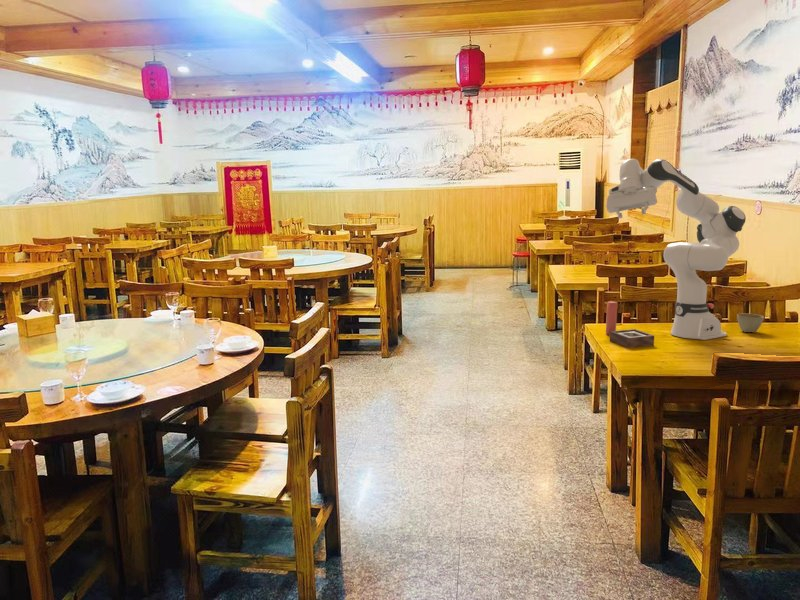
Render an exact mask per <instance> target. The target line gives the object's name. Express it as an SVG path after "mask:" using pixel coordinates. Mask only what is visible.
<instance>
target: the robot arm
mask: <svg viewBox="0 0 800 600" xmlns="http://www.w3.org/2000/svg"><path fill="white" fill-rule="evenodd" d="M619 181H620V182H619V184H618V185H615V186H614V187H612V188H609V190H608V193H609V195H608V196H607V198H606V206H605V207H606V210H607V212H608V214H609V213H610V214H612V213H615V214H616V215H617V217H618V219H619V220H620V219H623V213H622V212H623V211H628V210H633V209H639V208H641V209H640V210H641V215H646V214H647V210H648V209H649V206H655V205H656V204H657V203H658V198H657V195H656V194H657V193H658V188H660V187H661V186H662V185H663V184H664V183H667V182H671V183H672V184H674V185H675V186H676V187H678V188H679V189H680V191H679V193H678V194H677V197H676V203H675V204H676V207H677V209H678V211H679V212H680V213H682V214H684V215H685V216H688V217H690V218H692V219H696V220H697V221H699V222H700V223H699V224H698V225H697V226H696V229H697V232H696V239H697V242H687V241H678V242H671V243H668V244H667V245H666V246H665V249H663V255H662V256H663V260H664V262H665V264H666V265H667V266H668V267H669V268H670V269H671V271H672V272H673V274H674V276H675V279H676V284H677V286H676V287H677V293H676V295H677V296H676V297H677V298H676V301H675V306H674V310H675V315H674V320H673V325H672V327H671V330H670V334H671V335H672V336H675V337H679V338H682V339H683V338H684V339H693V340H702V341H707V340H712V339H717V338H722V337H726V336H728V335H727V332H726V331H723V330H722V325H721V321H720V320H719V319H718V318H717V316H715V315H714V314H712V312H710V309H711V310H712V309H714V307H715V305H714V304H713V303H707V291H708V285H707V283H706V281H704V280H703V279H702V278H700V277H699V275H698V274H697V271H704V272H715V271H721V270H723V269H724V268H725V267H726V265H727V263H728V261H729V257H730V256H732V255H734V254H735V253H736V252H737V251H738V249H739V247H740V240H739V238H738V237H737V235H736V234H737V233H739V232H742V230H743V227H744V225H745V223H746V214H745V212H744V211H743V210H742V209H741V208H739V207H737V206H733V205H729V206H727V207H726V208H724V209H722V210H721V211H720V205H719V204H718V203H717V202H716V201H715V200H714V199H712V198H711V197H709V196H707V195H706V194H703V193H701V192H700V189H699V186H698V184H697V183H696V182H694V180H692V179H690V178H689V177H688V176H687V175H686V174H684V173H683V172H681V171H680V170H678V169H677V168H675V167H674V166H673V164H671V163H670V162H669V161H668V160H666V159H658V158H657V159H654V160H653V161H652V162H651V163H650V164H649V165H648V167H646V169H643V168H642V167H641V165H640V162H639V160H638V159H636V158H629V159H626V160H624V161H623V162H622V163H621V165H620V168H619Z"/></svg>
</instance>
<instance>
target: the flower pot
mask: <svg viewBox="0 0 800 600" xmlns="http://www.w3.org/2000/svg"><path fill="white" fill-rule="evenodd" d="M736 319H737V322H738V325H739V328H740V330H741V332H742V331H744V332H743V333H745V332H755V333H757V331H758V330H759V329H760V328H761V325H762V323H763V321H764V319H765V317H764V316H763V315H761V314H754V313H748V312H747V313H745V312H744V313H738V314H736Z"/></svg>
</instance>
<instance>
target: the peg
mask: <svg viewBox="0 0 800 600" xmlns="http://www.w3.org/2000/svg"><path fill="white" fill-rule="evenodd" d="M606 306H607V307H606V320H605V321H606V324H605V325H606V326H605V335H606V336H609V335H610V331H617V319H618V317H617V316H618V302H617V301H607V305H606Z"/></svg>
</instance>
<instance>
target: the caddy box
mask: <svg viewBox="0 0 800 600" xmlns="http://www.w3.org/2000/svg"><path fill="white" fill-rule="evenodd" d="M611 341H612V343H614V342H615V343H614V344H616V343H617V345H619V346H621V347H624V346H625V348H626V349H632V348H631V347H633V348H640V347H639V346H643V347H650V345H652V346H654V345H655V335H653V334H651V333H648V332H645V331H642V330H639V329H636V328H633V329H621V330H616V331H610V336H609V342H611Z"/></svg>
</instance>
